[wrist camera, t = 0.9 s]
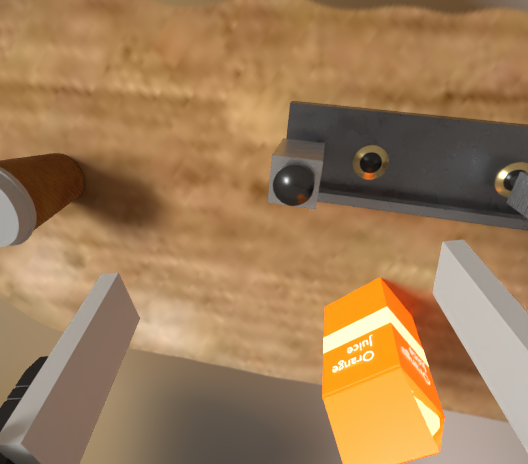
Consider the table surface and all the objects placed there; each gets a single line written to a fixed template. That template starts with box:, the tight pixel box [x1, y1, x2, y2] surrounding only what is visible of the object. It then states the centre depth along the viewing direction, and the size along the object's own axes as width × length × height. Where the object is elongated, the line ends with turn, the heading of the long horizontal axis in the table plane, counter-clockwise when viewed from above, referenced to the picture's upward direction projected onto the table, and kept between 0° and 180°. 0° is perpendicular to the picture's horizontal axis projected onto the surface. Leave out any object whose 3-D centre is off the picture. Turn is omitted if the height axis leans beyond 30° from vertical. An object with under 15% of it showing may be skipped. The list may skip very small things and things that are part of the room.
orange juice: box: [322, 278, 445, 464], centre depth 37 cm, size 8×9×20 cm
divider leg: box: [268, 138, 325, 209], centre depth 31 cm, size 4×4×10 cm
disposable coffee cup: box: [0, 153, 85, 247], centre depth 39 cm, size 10×10×12 cm
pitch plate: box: [287, 101, 528, 230], centre depth 30 cm, size 28×10×13 cm, turn 86°
